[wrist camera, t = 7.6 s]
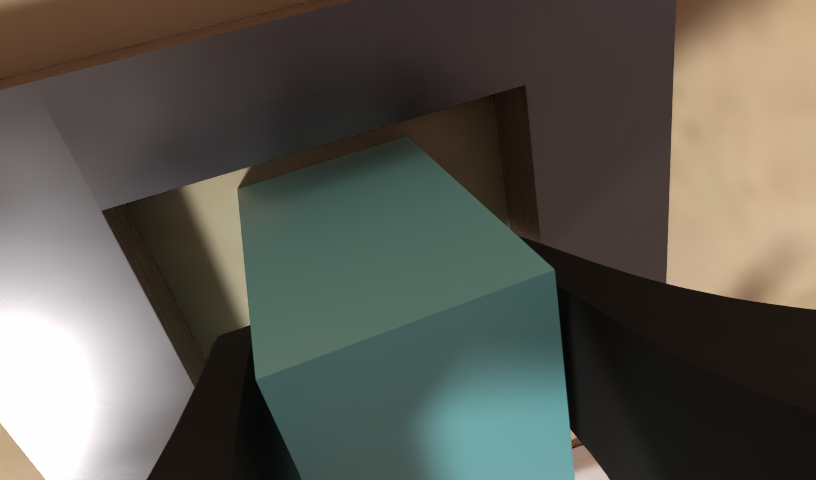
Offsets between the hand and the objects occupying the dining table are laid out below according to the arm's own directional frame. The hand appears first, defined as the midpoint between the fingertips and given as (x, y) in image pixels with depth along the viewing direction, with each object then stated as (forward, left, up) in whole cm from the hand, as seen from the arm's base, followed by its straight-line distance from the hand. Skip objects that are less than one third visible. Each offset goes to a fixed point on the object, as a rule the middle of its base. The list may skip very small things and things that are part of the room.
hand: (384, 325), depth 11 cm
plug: (0, 0, -2) cm, 3 cm away
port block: (0, 0, -2) cm, 2 cm away
